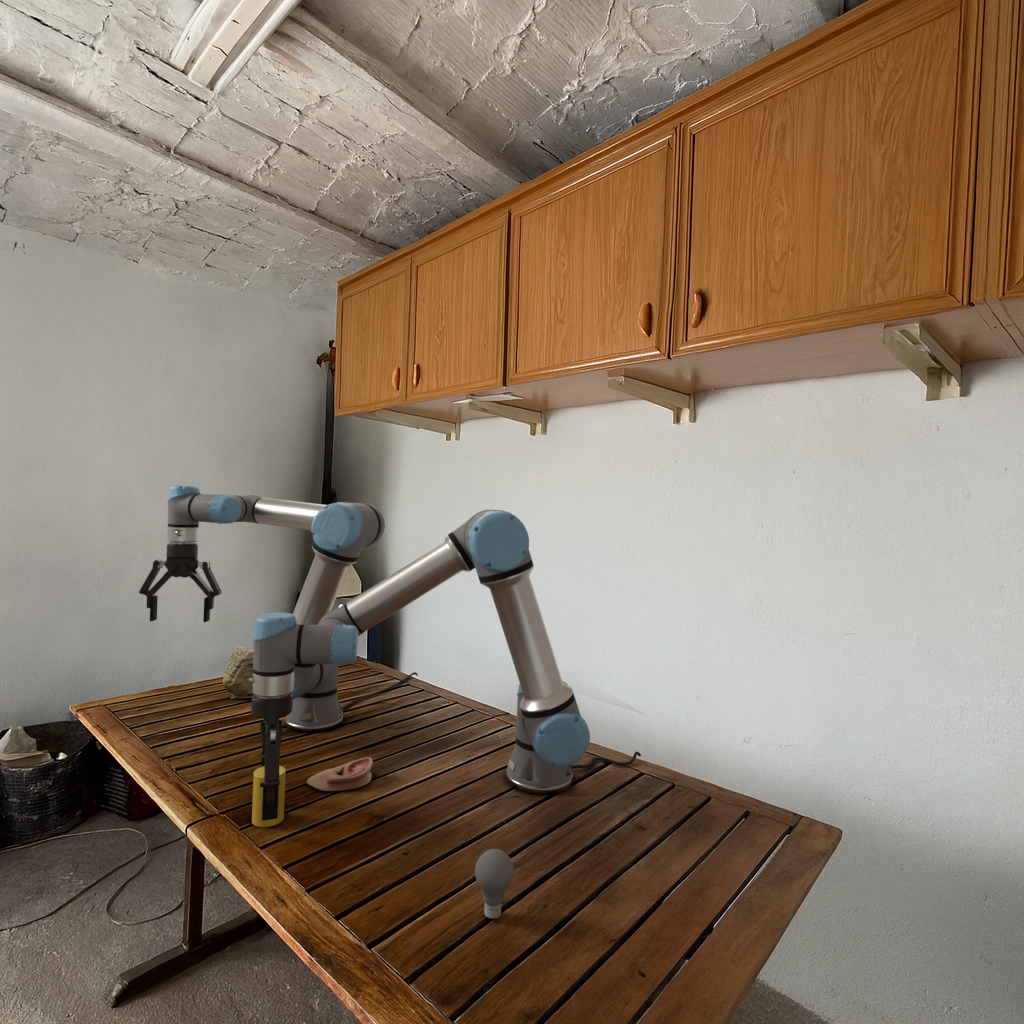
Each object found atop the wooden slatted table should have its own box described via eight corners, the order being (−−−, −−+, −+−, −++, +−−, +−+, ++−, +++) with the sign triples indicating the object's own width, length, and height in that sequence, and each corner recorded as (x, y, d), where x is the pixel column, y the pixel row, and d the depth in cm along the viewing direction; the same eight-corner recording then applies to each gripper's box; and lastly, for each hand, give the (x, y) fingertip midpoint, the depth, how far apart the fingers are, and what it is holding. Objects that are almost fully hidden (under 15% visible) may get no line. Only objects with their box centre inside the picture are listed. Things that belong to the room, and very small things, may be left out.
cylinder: (289, 820, 124) (291, 771, 124) (260, 830, 119) (262, 780, 119) (274, 809, 128) (276, 762, 128) (246, 819, 123) (248, 770, 123)
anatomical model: (300, 769, 137) (326, 749, 148) (299, 787, 137) (325, 766, 148) (357, 777, 134) (379, 756, 146) (356, 796, 134) (378, 773, 146)
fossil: (218, 695, 195) (220, 647, 195) (278, 685, 208) (279, 640, 207) (228, 703, 189) (230, 653, 188) (289, 692, 201) (290, 645, 201)
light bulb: (472, 903, 100) (475, 841, 100) (510, 903, 101) (513, 841, 101) (473, 929, 94) (476, 863, 94) (513, 928, 95) (516, 862, 95)
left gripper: (126, 542, 166) (124, 622, 166) (226, 545, 170) (224, 624, 170) (139, 540, 173) (136, 617, 174) (235, 543, 177) (232, 618, 177)
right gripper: (251, 677, 133) (247, 778, 133) (252, 716, 111) (248, 837, 111) (289, 675, 136) (285, 774, 136) (297, 712, 113) (293, 830, 114)
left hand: (180, 620), depth 172 cm, fingers open, 13 cm apart
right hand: (268, 802), depth 124 cm, fingers open, 12 cm apart
